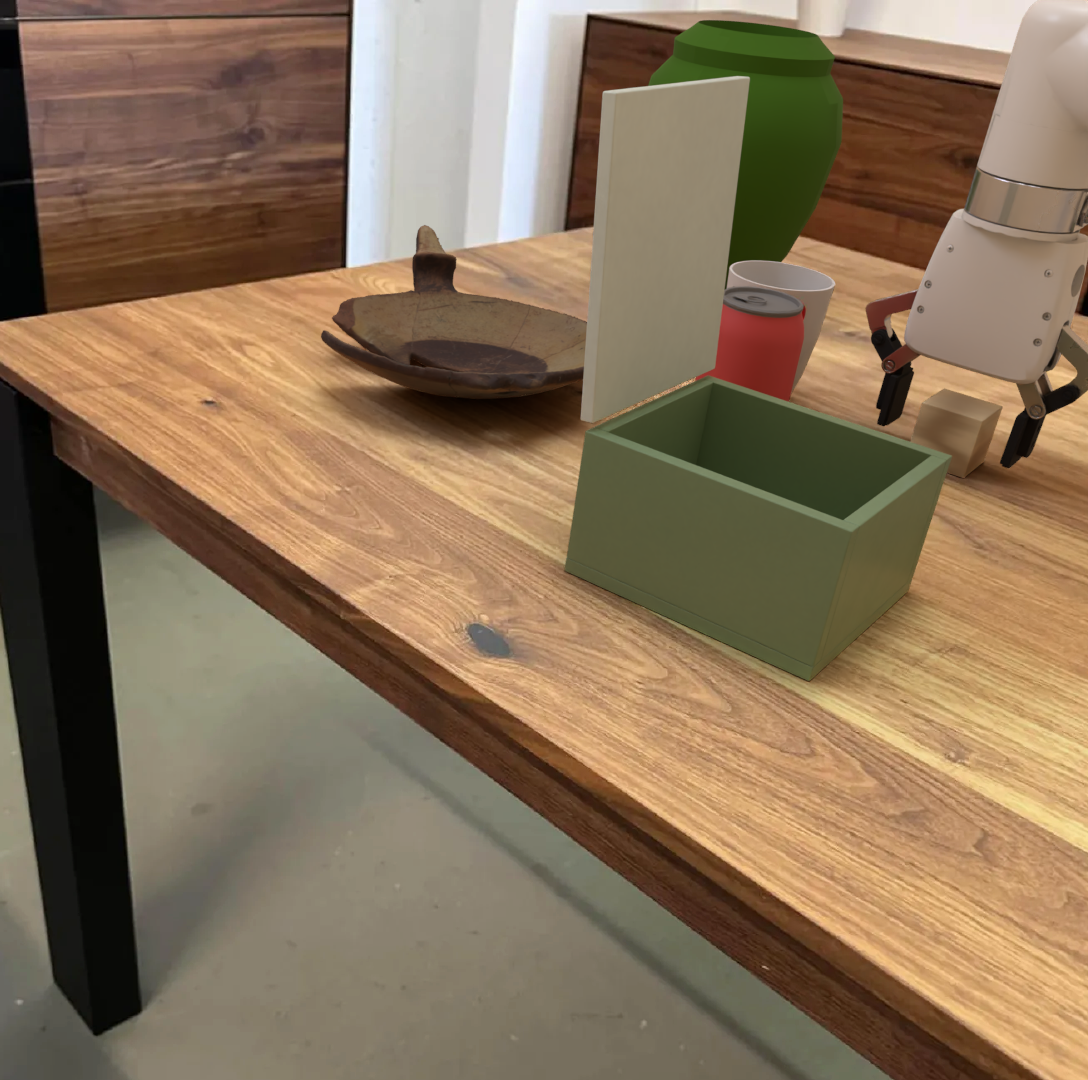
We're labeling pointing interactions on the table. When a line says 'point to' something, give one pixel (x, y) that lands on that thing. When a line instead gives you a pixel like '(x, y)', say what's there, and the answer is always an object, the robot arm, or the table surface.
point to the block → (957, 428)
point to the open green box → (753, 519)
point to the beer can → (759, 340)
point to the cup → (793, 281)
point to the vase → (769, 124)
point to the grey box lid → (660, 237)
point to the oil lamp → (459, 336)
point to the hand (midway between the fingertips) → (947, 441)
